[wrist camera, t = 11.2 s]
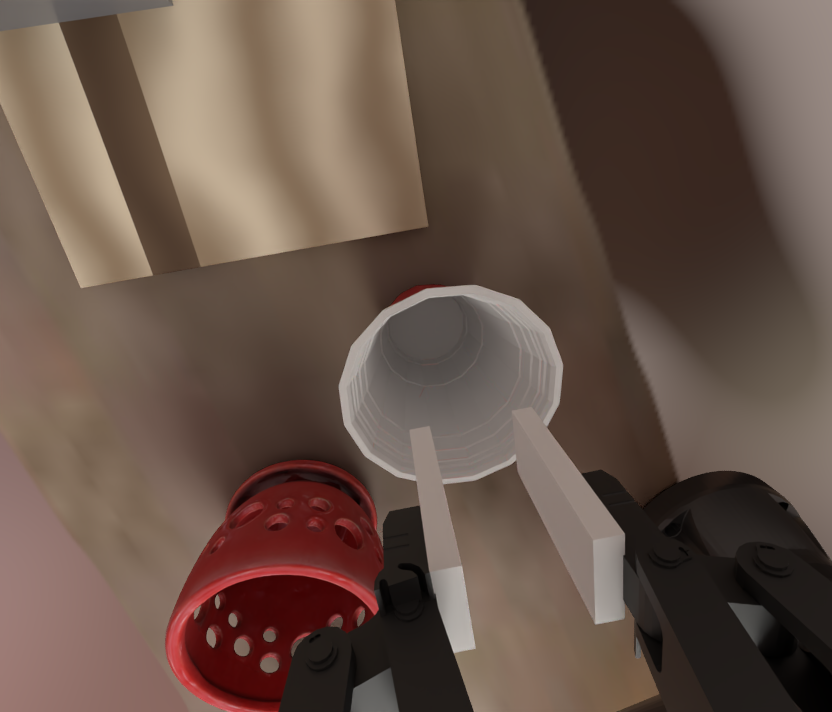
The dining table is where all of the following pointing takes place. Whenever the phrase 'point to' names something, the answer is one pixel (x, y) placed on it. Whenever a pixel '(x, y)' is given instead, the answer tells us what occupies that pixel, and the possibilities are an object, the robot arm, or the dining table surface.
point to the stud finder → (66, 10)
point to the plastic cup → (449, 379)
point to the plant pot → (275, 581)
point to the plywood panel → (214, 131)
